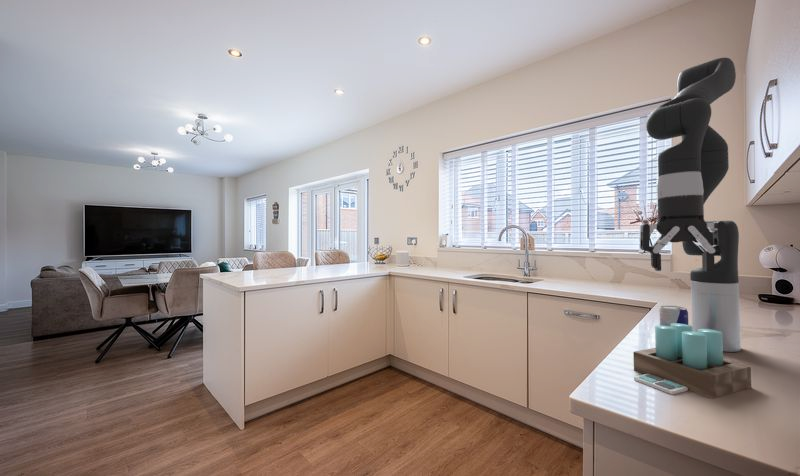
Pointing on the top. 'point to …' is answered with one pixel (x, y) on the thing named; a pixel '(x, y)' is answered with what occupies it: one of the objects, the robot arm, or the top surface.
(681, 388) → the tile
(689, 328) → the teal capsule
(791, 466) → the top surface
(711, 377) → the wooden compartment tray
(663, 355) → the pale teal rounded cylinder
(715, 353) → the turquoise cylinder
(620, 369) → the top surface
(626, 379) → the top surface
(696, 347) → the light turquoise rounded peg
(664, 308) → the energy drink
